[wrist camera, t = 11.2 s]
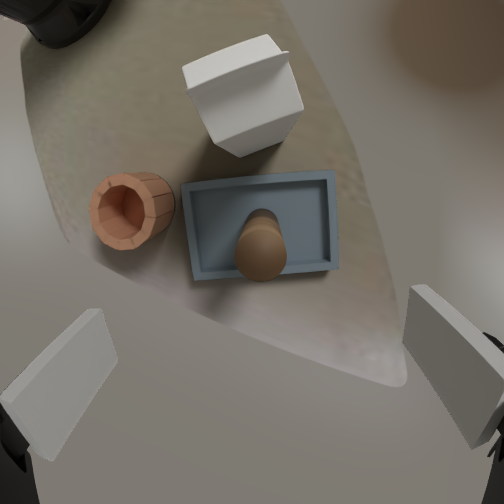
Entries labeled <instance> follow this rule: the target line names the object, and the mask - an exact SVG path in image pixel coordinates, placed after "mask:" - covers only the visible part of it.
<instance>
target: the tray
mask: <svg viewBox="0 0 504 504" xmlns="http://www.w3.org/2000/svg"><path fill="white" fill-rule="evenodd" d="M180 185H181V193H182V202H183V209H184V217H185V224H186V232H187V239H188V245H189V252H190V259H191V265H192V271H193V277H194V281H197V280H212V279H226V278H240V277H245V276H243V275H242V274H241V273H240V271H239V270H238V268H237V266H236V264H235V259H234V254H235V249H236V246H237V244H238V241H239V238H240V235H241V233H242V230H243V227H244V225H245V222H246V219H247V217H248V215H249V214H250V213H251V212H252V211H254V210H256V209H260V208H264V209H268V210H270V211H272V212H273V213H274V214H275V215H276V217H277V219H278V223H279V226H280V230H281V233H282V237H283V241H284V244H285V248H286V252H287V261H286V265H285V267H284V269H283V271H282V272H281V273H280V274H290V273H302V272H313V271H324V270H335V269H339V253H338V219H337V199H336V183H335V170H323V171H305V172H290V173H276V174H264V175H253V176H243V177H233V178H224V179H216V180H207V181H199V182H192V183H185V184H180Z"/></svg>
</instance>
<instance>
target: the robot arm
mask: <svg viewBox="0 0 504 504" xmlns="http://www.w3.org/2000/svg"><path fill="white" fill-rule="evenodd" d="M110 1H111V0H0V15H3V16H5V17H8V18H10V19H13V20H15V21H17V22H20V23H22V24H24V25H26V27H27V28H28V29H29V31H30V32H31V33H32V35H33V36H34V37H35V39H36V40H37V41H38V42H39V43H40V44H42V45H44V46H46V47H48V48H52V49H58V48H62V47H65V46H68V45H70V44H72V43H74V42H75V41H77V40H78V39H80V38H81V37H83V36H84V35H85V34H86V33H87V32H88V31H90V30H91V29H92V28H93V27H94V26H95V24H96V23H97V22H98V21H99V20H100V18H101V17H102V16H103V14H104V13H105V11H106V9H107V8H108V6H109V3H110ZM403 344H404V345H405V347H406V348H407V350H408V351H409V352H410V354H411V355H412V357H413V358H414V360H415V361H416V363H417V364H418V366H419V367H420V368H421V370H422V371H423V373H424V374H425V376H426V377H427V379H428V380H429V382H430V383H431V385H432V386H433V388H434V390H435V391H436V392H437V394H438V396H439V397H440V399H441V400H442V402H443V403H444V405H445V407H446V408H447V410H448V411H449V413H450V415H451V416H452V418H453V420H454V421H455V423H456V424H457V426H458V428H459V429H460V431H461V433H462V434H463V436H464V438H465V440H466V441H467V443H468V445H469V447H470V448H471V449H474V448H476V447H478V446H480V445H482V444H484V443H486V442H488V441H489V440H490V439H491V437H492V436H493V434H494V432H495V431H496V429H498V431H499V432H500V434H501V435H500V437H499V438H498V440H497V441H496V443H495V444H494V446H493V447H492V449H491V450H490V452H489V454H488V456H487V457H490V456H491V455H492V453H493V452H494V451H495V455H494V459H493V464H492V469H491V472H490V476H489V480H488V484H487V488H486V491H485V494H484V497H483V500H482V504H504V345H503V344H502V343H501V342H500V341H499V340H497V339H496V338H495V337H493V336H491V335H489V334H487V333H485V332H484V333H481V332H480V331H479V330H478V329H477V328H476V327H475V326H474V325H473V324H471V323H470V322H469V321H468V320H467V319H466V318H465V317H464V316H462V315H461V314H460V313H459V312H458V311H457V310H456V309H454V308H453V307H452V306H451V305H450V304H448V303H447V302H446V301H445V300H444V299H443V298H441V297H440V296H439V295H438V294H437V293H435V292H434V291H433V290H432V289H431V288H429V287H428V286H427V285H426V284H421V285H414V286H410V291H409V300H408V308H407V316H406V323H405V329H404V336H403ZM117 362H118V357H117V354H116V351H115V348H114V345H113V343H112V340H111V337H110V334H109V331H108V328H107V325H106V322H105V318H104V315H103V312H102V309H88V310H86V311H85V312H84V313H83V314H82V315H81V316H80V317H79V318H78V319H77V320H75V321H74V322H73V323H72V324H71V325H70V326H69V327H68V328H67V329H66V330H65V331H64V332H63V333H61V334H60V335H59V336H58V337H57V338H56V339H55V340H54V341H53V342H52V343H51V344H50V345H49V346H48V347H47V348H46V349H45V350H44V351H43V352H42V353H41V354H40V355H39V356H38V357H37V358H36V359H35V360H34V361H33V362H32V363H31V364H30V365H29V366H27V367H26V368H25V369H24V370H23V371H22V372H21V373H20V375H18V376H17V377H16V378H15V379H14V381H13V382H12V383H11V384H10V385H9V386H8V387H7V388H6V389H5V390H4V391H3V392H2V393H1V394H0V504H40V503H39V499H38V494H37V489H36V485H35V479H34V474H33V467H32V461H31V456H30V454H29V452H28V451H27V448H28V447H29V445H30V446H31V447H32V448H33V450H34V451H35V452H36V453H37V454H38V456H40V457H42V458H45V459H47V460H49V461H52V462H53V461H54V460H55V458H56V456H57V455H58V453H59V451H60V450H61V448H62V446H63V445H64V443H65V441H66V440H67V438H68V437H69V435H70V433H71V431H72V430H73V429H74V427H75V425H76V424H77V422H78V421H79V419H80V418H81V416H82V414H83V413H84V411H85V410H86V408H87V407H88V405H89V404H90V402H91V401H92V399H93V397H94V396H95V394H96V393H97V391H98V390H99V388H100V387H101V385H102V384H103V382H104V381H105V379H106V378H107V376H108V375H109V374H110V372H111V371H112V369H113V368H114V366H115V365H116V363H117Z"/></svg>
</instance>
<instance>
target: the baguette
mask: <svg viewBox="0 0 504 504" xmlns="http://www.w3.org/2000/svg"><path fill="white" fill-rule="evenodd" d="M234 259H235V264H236V266H237V268H238V270H239V271H240V273H241V274H242V275H243V276H245V277H246V278H248V279H250V280H253V281H257V282H264V281H269V280H272V279H274V278H275V277H277V276H278V275H279V274H280V273H281V272H282V271H283V269H284V267H285V265H286V261H287V252H286V248H285V244H284V241H283V237H282V233H281V230H280V226H279V223H278V219H277V217H276V215H275V214H274V213H273V212H272V211H270V210H268V209H264V208H260V209H256V210H254V211H252V212H251V213H250V214H249V215H248V217H247V219H246V222H245V225H244V227H243V230H242V233H241V235H240V238H239V241H238V244H237V246H236V249H235V254H234Z"/></svg>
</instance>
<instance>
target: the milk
mask: <svg viewBox="0 0 504 504" xmlns="http://www.w3.org/2000/svg"><path fill="white" fill-rule="evenodd" d="M289 54H290V53H289V52H288V51H283V52H281V50H280V49H279V48H278V46H277V45H276V44H275V43H274V41H273V40H272V39H271V38H270V36H269V35H268V34H265V35H262V36H259V37H256V38H253V39H250V40H247V41H244V42H241V43H238V44H235V45H233V46H230V47H227V48H225V49H222V50H220V51H217V52H215V53H212V54H210V55H207V56H205V57H203V58H200V59H198V60H196V61H193V62H191V63H189V64H187V65H185V66H183V67H182V70H183V74H184V77H185V80H186V84H187V87H188V89H186V91H185V92H186V94H187V95H188V96H189V97H190V98H191V99H192V101H193V103H194V105H195V107H196V109H197V111H198V113H199V115H200V117H201V119H202V121H203V123H204V125H205V127H206V129H207V131H208V133H209V135H210V137H211V139H212V141H213V143H214V144H216V145H217V146H219V147H221V148H223V149H225V150H226V151H228V152H230V153H232V154H233V155H235V156H237V157H239V158H241V157H244V156H246V155H249V154H251V153H254V152H256V151H259V150H261V149H264V148H266V147H269V146H272V145H274V144H277V143H280V142H282V141H284V140H285V139H286V137H287V135H288V134H289V132H290V131H291V129H292V128H293V126H294V125H295V123H296V121H297V120H298V118H299V117H300V115H301V114H302V112H303V111H304V106H303V103H302V100H301V97H300V94H299V91H298V88H297V85H296V82H295V79H294V76H293V73H292V70H291V67H290V65H289V62H288V59H289Z"/></svg>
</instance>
